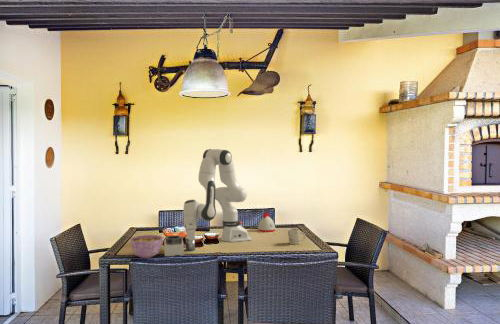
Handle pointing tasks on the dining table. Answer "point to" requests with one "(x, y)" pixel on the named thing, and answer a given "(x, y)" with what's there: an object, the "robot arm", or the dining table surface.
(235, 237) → the robot arm
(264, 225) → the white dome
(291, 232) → the mug
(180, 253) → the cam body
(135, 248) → the bowl of food
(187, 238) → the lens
